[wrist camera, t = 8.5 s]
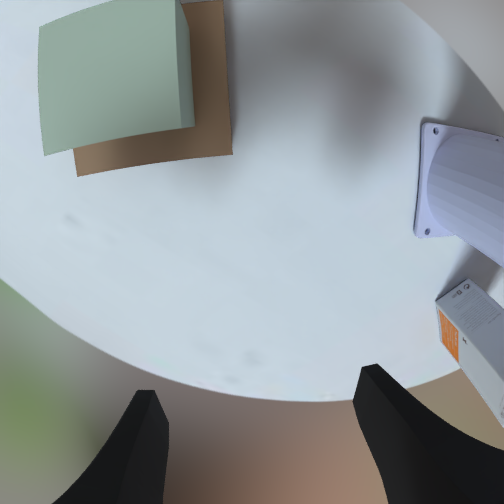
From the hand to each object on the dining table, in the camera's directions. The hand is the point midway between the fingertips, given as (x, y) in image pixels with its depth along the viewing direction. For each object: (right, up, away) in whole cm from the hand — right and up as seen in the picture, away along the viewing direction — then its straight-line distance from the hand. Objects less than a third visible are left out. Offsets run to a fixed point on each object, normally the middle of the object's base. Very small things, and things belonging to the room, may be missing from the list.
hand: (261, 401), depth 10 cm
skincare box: (+18, 0, +14) cm, 23 cm away
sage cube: (-6, +13, +2) cm, 14 cm away
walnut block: (-6, +14, +5) cm, 16 cm away
